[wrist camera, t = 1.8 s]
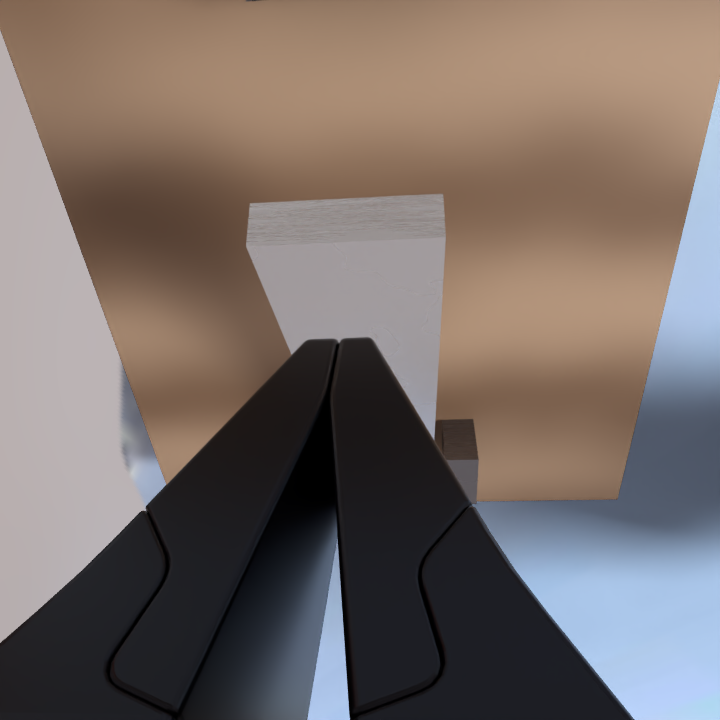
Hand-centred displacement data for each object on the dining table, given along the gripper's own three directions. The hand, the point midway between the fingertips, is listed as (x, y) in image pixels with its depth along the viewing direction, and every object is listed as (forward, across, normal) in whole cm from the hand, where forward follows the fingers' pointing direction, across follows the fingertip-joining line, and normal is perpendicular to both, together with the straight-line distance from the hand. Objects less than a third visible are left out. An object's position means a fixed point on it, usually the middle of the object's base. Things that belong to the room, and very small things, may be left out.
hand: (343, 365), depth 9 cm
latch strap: (+6, 0, +5) cm, 8 cm away
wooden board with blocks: (+12, 0, +2) cm, 12 cm away
